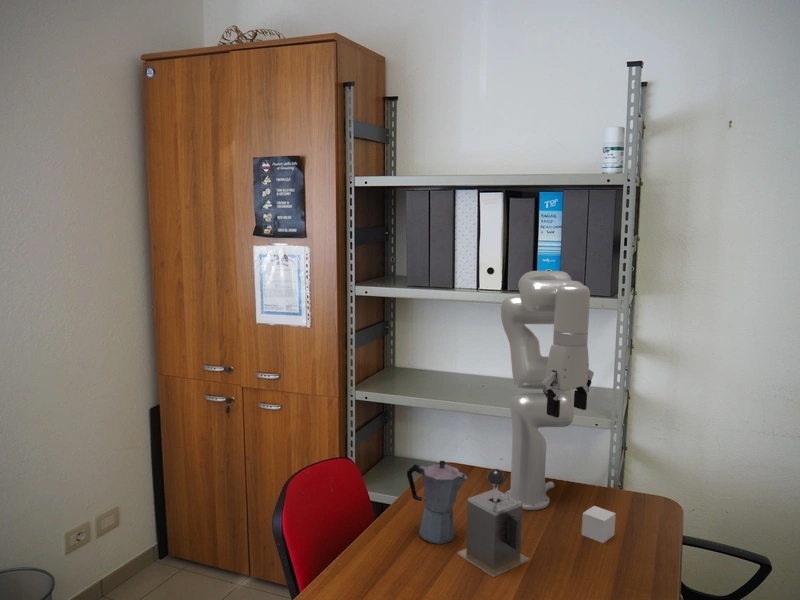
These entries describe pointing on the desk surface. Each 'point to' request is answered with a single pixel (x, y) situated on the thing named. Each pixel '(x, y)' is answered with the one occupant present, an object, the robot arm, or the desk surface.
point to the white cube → (598, 524)
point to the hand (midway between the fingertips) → (566, 412)
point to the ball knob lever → (495, 481)
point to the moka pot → (437, 500)
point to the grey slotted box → (494, 533)
